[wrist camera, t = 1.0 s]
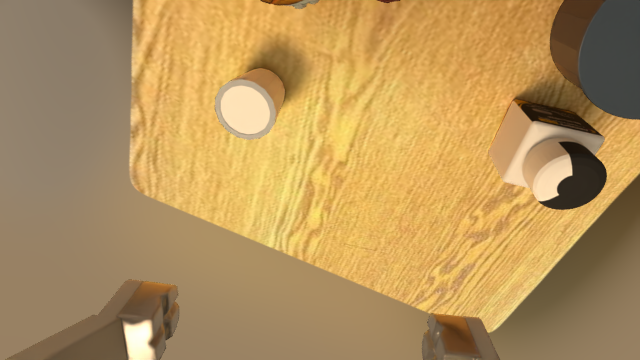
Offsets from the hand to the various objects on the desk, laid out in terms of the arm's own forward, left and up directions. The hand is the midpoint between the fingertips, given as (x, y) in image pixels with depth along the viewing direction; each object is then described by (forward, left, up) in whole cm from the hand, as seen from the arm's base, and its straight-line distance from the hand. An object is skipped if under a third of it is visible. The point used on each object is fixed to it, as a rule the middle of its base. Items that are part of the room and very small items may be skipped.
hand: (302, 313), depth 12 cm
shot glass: (+5, -12, -36) cm, 38 cm away
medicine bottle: (+8, +20, -36) cm, 42 cm away
